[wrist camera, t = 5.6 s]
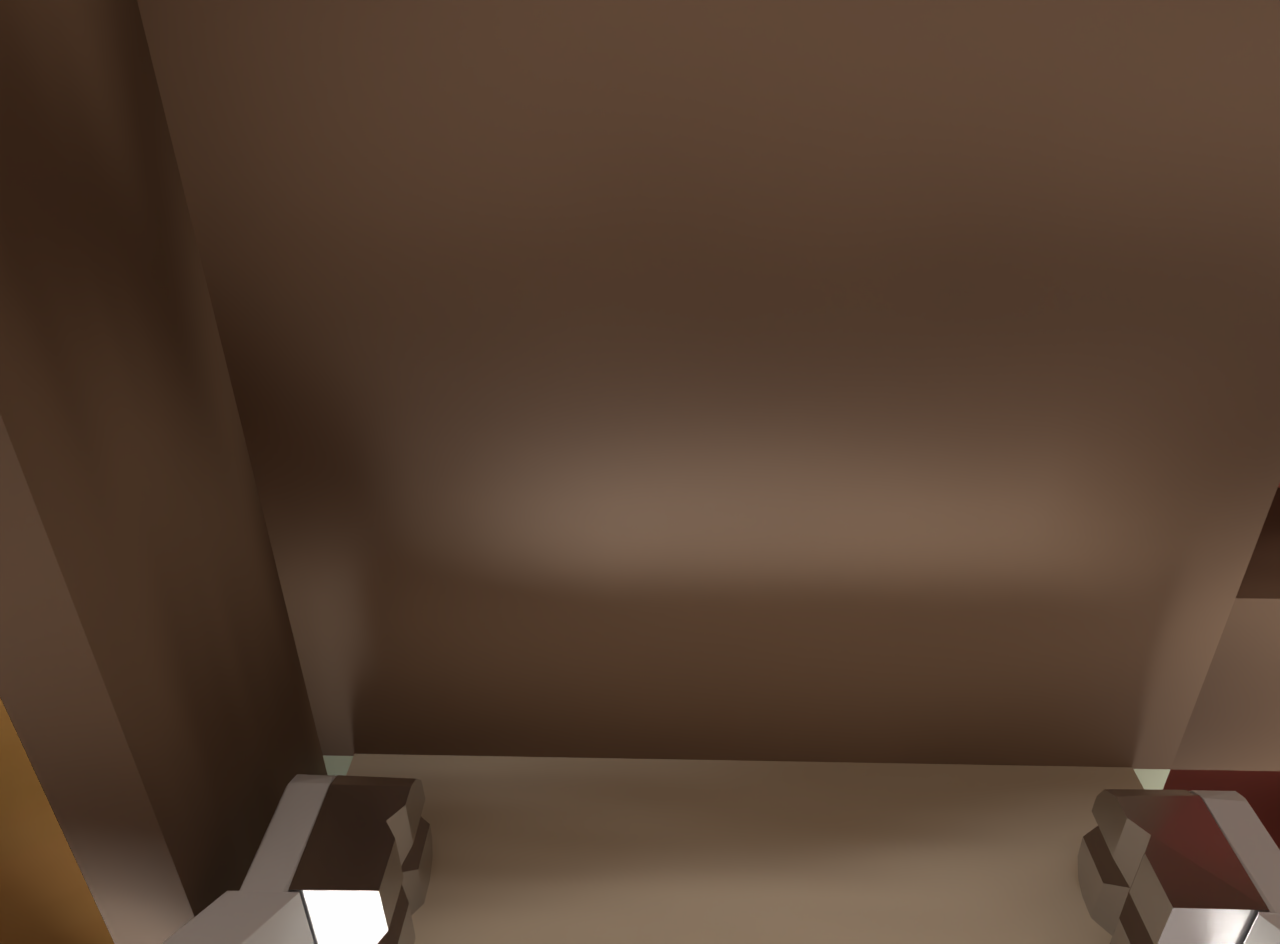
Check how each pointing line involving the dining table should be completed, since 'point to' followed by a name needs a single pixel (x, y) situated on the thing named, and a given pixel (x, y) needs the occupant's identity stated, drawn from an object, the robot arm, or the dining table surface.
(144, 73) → the brown compartment tray
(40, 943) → the dining table surface
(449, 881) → the cream rectangular block
